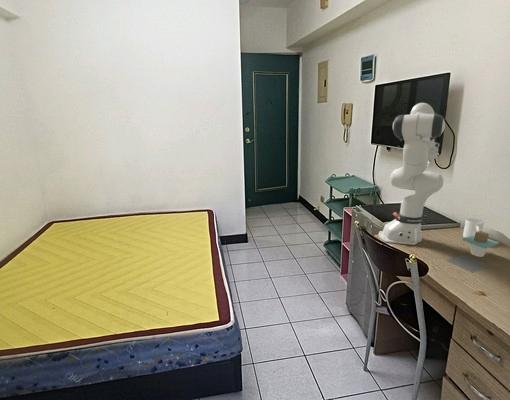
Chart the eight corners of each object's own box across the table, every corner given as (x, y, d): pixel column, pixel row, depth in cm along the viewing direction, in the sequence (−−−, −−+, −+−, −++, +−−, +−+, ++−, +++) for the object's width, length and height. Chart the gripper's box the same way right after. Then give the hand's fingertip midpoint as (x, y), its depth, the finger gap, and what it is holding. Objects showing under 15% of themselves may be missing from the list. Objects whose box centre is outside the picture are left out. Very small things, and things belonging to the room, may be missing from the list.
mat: (472, 273, 145) (472, 272, 145) (445, 261, 156) (445, 260, 156) (489, 266, 151) (490, 266, 150) (462, 255, 162) (462, 254, 162)
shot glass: (485, 259, 158) (488, 246, 156) (469, 255, 161) (471, 242, 159) (485, 253, 163) (487, 240, 161) (469, 250, 167) (471, 238, 165)
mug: (485, 244, 173) (489, 226, 170) (468, 243, 175) (471, 225, 172) (476, 235, 184) (480, 218, 181) (460, 234, 186) (463, 217, 183)
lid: (484, 248, 153) (487, 239, 152) (462, 240, 163) (463, 231, 161) (498, 244, 158) (500, 235, 156) (475, 235, 167) (477, 227, 166)
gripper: (417, 146, 188) (414, 170, 192) (441, 144, 196) (437, 166, 200) (408, 145, 193) (405, 168, 198) (432, 142, 202) (428, 164, 206)
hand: (422, 167), depth 199 cm, fingers open, 8 cm apart
